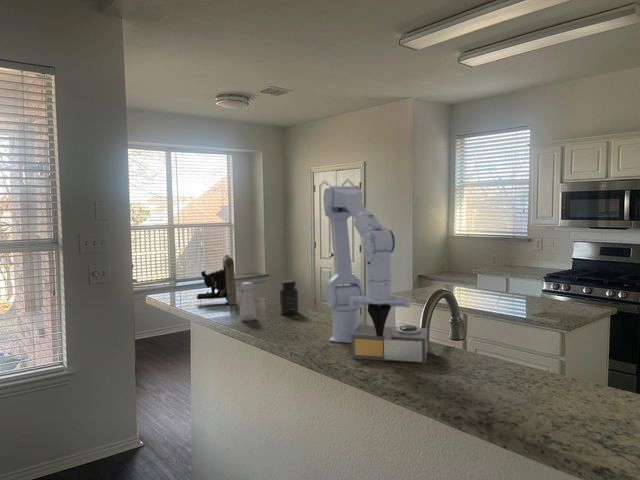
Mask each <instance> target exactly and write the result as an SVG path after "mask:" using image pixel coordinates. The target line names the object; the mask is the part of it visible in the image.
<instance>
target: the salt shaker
mask: <svg viewBox="0 0 640 480" xmlns="http://www.w3.org/2000/svg"><path fill="white" fill-rule="evenodd" d="M254 287H255V286H254V283H253V282H251V281H246V282H242V283H241V285H240V289H241V290H242V296H241V300H240V301H241V303H240V307H239V308H240V309H239V316H240V317H241V319H242V321H247V322H248V321H250V322H251V321H254V320H255V318H256V316H257V307H256V302H255V297H254V294H253V289H254Z"/></svg>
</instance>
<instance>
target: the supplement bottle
mask: <svg viewBox="0 0 640 480" xmlns="http://www.w3.org/2000/svg"><path fill="white" fill-rule="evenodd" d="M281 283H282V284H281V287H282V288H281V289H280V290H279V307H280V314H281V315H283V316H295V315H297V314H299V312H300V308H299V307H300V305H299V302H300V300H299V290H298V288H297V287H296V286H297V285H296V280H290V279H288V280H283V281H281Z"/></svg>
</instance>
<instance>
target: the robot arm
mask: <svg viewBox="0 0 640 480" xmlns="http://www.w3.org/2000/svg"><path fill="white" fill-rule="evenodd" d="M322 198H323V209H324V216H326V217H327V218H329V222H330V228H331V229H330V231H331V232H330V233H331V243H332V252H333V253H332V254H333V255H332V256H333V264H334V265H333V267H334V275H333V276H332V277H331V278H329V280H328V281H327V282H326V286H325V287H326V292H325V301H326V304H327V306H328V307H329V308H330V309H331V310H332V336H331V337H330V338H329V340H328V342H331V343H333V342H334V343H350V344H351V334H352V333H353V332H354V331H355V329H356V328H357V327H358V326H359V325H360V313H359V309H360V307H361V306H367V313H368V315H369V316H370V318H371V320H372V323H373V326H375V330H376V335H377V336H380V337H382V336H383V331H384V326H386V323H387V319H388V316H389V313H390V311H391V309H392V307H398V308H400V307H403V308H409V309H410V307H411V298H410V297H397V296H392V255H391V254H392V253H393V252H394V251H395V248H396V237H395V234H394V232H393V230H392V229H389V228H386V227H385V228H384V227H383V225H382V223H380V221H379V220H378V218H377V217H376V216H375V214H374V213H373V211H372V212H371V211H367V209H366V207H365V205H364V203H363V192H362V188H360V186H359V185H327V186H326V188H324V192H323V196H322ZM350 217H353V218H354V222H353V223H354V227H355V229H356V231H357V232H358V234H359V235H360V237H361V239H362V242H361V244H362V249H363V253H364V259H365V261H366V271H367V272H366V280H367V281H366V287H367V291H366V292H367V295H364V289H363V287H362V282H361V279H360V278H359V277H357V276H355V274H353V272H352V270H353V269H352V259H351V250H350V238H349V237H350V236H349V228H348V227H349V226H348V220H349V218H350Z"/></svg>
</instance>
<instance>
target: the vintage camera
mask: <svg viewBox="0 0 640 480" xmlns="http://www.w3.org/2000/svg"><path fill="white" fill-rule="evenodd" d="M222 266H223V267H222V268H223V269H219V270H216V271H213V272H210V273H208V274H207V273H206V270H203V271H200V274H201V277H203V282H204V285H205V287H206V288H207V289H209V288H210V289H211V291H210V292H209V291H206V293H198V294H197V295H196V299H197V300H200V301H199V302H200V305H199V306H201V301H202V300H209V299H210V300H213V299H216V300H217V299H225V300H226V302H227V303H228V305H230V306H234V305H236V303H237V292H236V291H237V289H236V276H235V264H234V260H233V258H232V257H231V256H229V254H226V255H225V256H224V257H223V258H222ZM216 290H217V292H215V291H216Z"/></svg>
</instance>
